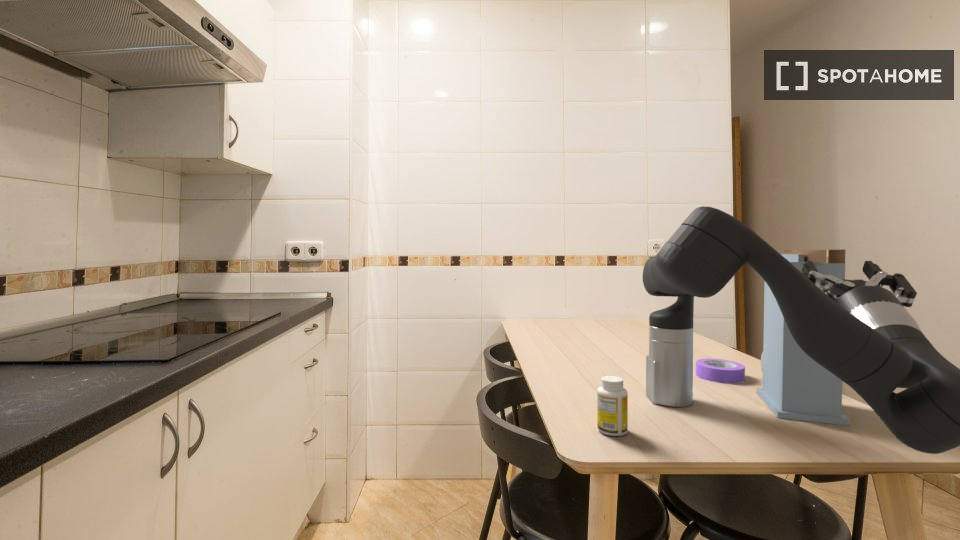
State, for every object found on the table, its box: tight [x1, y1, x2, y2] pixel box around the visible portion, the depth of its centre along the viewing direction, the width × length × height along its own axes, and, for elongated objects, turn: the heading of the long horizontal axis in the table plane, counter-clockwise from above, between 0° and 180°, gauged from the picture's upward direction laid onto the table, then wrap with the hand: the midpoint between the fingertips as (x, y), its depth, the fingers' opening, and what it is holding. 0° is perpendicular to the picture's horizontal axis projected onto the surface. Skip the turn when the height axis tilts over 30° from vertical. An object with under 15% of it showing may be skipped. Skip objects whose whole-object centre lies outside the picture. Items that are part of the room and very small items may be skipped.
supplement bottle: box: [596, 375, 629, 437], centre depth 81 cm, size 6×6×10 cm
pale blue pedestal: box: [756, 253, 851, 426], centre depth 92 cm, size 12×16×34 cm
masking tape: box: [695, 357, 746, 384], centre depth 116 cm, size 12×12×4 cm
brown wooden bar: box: [783, 249, 846, 264], centre depth 86 cm, size 2×24×2 cm, turn 160°
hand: (835, 265), depth 76 cm, fingers open, 8 cm apart
